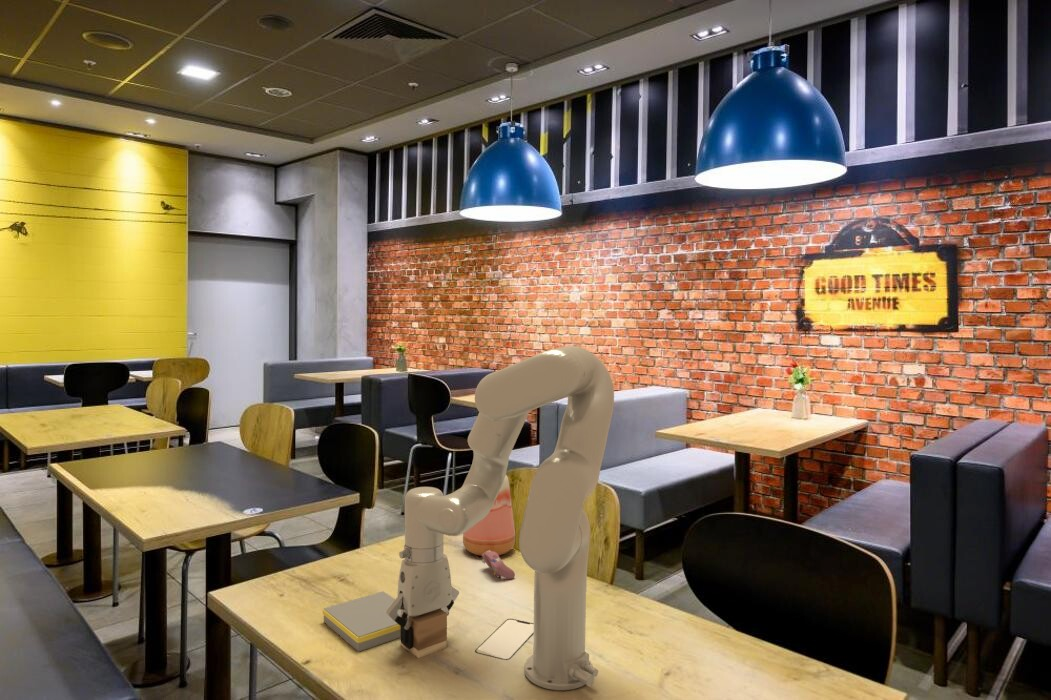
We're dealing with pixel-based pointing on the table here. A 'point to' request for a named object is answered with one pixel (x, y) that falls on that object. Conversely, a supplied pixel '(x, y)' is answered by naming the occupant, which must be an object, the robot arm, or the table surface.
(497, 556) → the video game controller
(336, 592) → the table surface
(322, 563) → the table surface
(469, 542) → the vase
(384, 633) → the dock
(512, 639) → the smartphone
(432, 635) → the brown wooden block
